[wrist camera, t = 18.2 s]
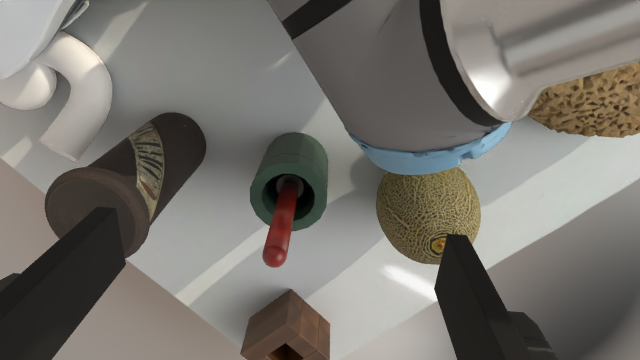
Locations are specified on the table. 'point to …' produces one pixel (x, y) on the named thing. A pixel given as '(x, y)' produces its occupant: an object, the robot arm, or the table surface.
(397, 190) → the fruit
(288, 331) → the holder
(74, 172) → the container
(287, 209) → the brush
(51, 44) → the sculpture
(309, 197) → the green hollow cylinder
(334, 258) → the table surface
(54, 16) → the boat shoe
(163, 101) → the table surface
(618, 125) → the sponge
